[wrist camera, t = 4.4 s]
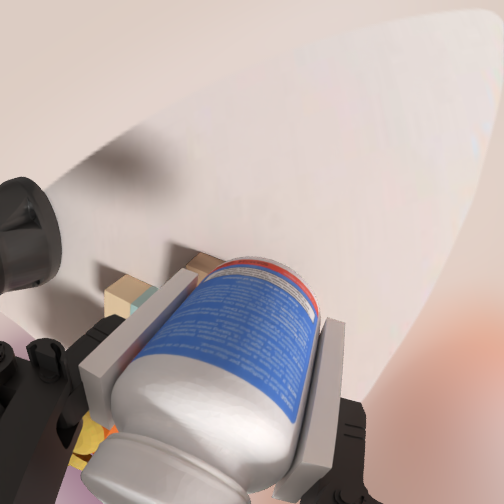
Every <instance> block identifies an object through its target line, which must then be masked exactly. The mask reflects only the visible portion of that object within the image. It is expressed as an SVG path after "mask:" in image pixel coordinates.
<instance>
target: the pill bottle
mask: <svg viewBox="0 0 504 504" xmlns="http://www.w3.org/2000/svg"><path fill="white" fill-rule="evenodd" d="M320 322H321V315H320V308H319V304H318V301H317V298H316V296H315V294H314V292H313V291H312V289H311V288H310V286H309V285H308V284H307V282H306V281H305V280H304V279H303V278H302V277H301V276H300V275H299V274H297V273H296V272H295V271H293V270H292V269H291V268H289V267H287V266H285V265H283V264H281V263H279V262H276V261H273V260H270V259H266V258H261V257H240V258H235V259H232V260H229V261H227V262H224V263H222V264H221V265H219V266H217V267H216V268H215V269H214V270H212V271H211V272H210V273H209V274H208V275H207V276H206V277H205V278H204V279H203V280H202V281H201V282H200V284H199V285H198V286H197V287H196V288H195V289H194V290H193V292H192V293H191V294H190V295H189V296H188V297H187V299H186V300H185V301H184V302H183V303H182V304H181V305H180V307H179V308H178V309H177V310H176V311H175V312H174V313H173V314H172V316H171V317H170V318H169V319H168V320H167V322H166V323H165V324H164V325H163V326H162V327H161V328H160V329H159V330H158V332H157V333H156V334H155V335H154V336H153V337H152V338H151V340H150V341H149V342H148V343H147V344H146V345H145V346H144V347H143V349H142V350H141V351H140V352H139V353H138V354H137V355H136V356H135V357H134V359H133V360H132V361H131V362H130V364H129V365H128V366H127V368H126V369H125V370H124V372H123V373H122V374H121V375H120V377H119V378H118V380H117V381H116V383H115V385H114V387H113V390H112V394H111V413H112V418H113V421H114V423H115V426H116V428H117V430H118V432H119V433H113V434H110V435H109V436H108V437H107V438H106V439H105V440H104V441H102V442H101V443H100V444H99V446H98V448H97V450H96V452H95V453H94V454H93V456H92V457H91V459H90V460H89V462H88V463H87V465H86V466H85V468H84V469H83V471H82V472H81V480H82V481H83V483H84V485H85V486H86V487H87V488H88V490H89V491H90V492H91V493H92V494H93V495H94V496H95V497H96V498H98V499H99V500H100V501H101V502H102V503H104V504H251V501H250V498H249V495H248V494H251V493H255V492H259V491H262V490H265V489H267V488H269V487H271V486H272V485H274V484H276V483H277V482H278V481H279V480H281V479H282V478H283V477H284V476H285V474H286V473H287V472H288V471H289V469H290V467H291V465H292V463H293V459H294V456H295V453H296V449H297V444H298V440H299V436H300V431H301V427H302V422H303V417H304V412H305V408H306V403H307V397H308V393H309V387H310V382H311V377H312V372H313V367H314V361H315V356H316V351H317V345H318V339H319V334H320Z"/></svg>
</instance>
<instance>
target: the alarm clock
mask: <svg viewBox="0 0 504 504" xmlns="http://www.w3.org/2000/svg"><path fill="white" fill-rule="evenodd" d="M82 419H83V427H82V430H81V432H80V435H79V438H78V440H77V443H76V445H75V448H74V450H73V453H72V456H71V458H70V461H69V464H68V466H69V465H71V466H73V467H75V468H77V469H79V470H82V471H83V469H84V468H85V466H86V465H87V463H88V462H89V460H90V459H91V457H92V455H91V454H90V453H93V454H94V453H95V452H96V450H97V448H98V446H99V444H100V443H101V442H102V441H104V440H105V439H106V438H107V437H108V436H109V435H110V434H113V433H119V432H118V430H117V428H116V426H115V425H114V426H113V427H112V428H111V430H108V429H106V428H105V427H103V426H101V425H100V424H98V423H96V422H95V421H93V420H92V419H91V417H90V413H89V410H88V412H87V413H86V414H85V415H84V416H83V417H82Z"/></svg>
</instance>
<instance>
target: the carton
mask: <svg viewBox="0 0 504 504" xmlns="http://www.w3.org/2000/svg"><path fill="white" fill-rule="evenodd" d="M157 290H158V288H156V287H154V286H151V285H149V284H147V283H144V282H142V281H140V280H138V279H136V278H134V277H132V276H130V275H127V274H126V275H124V276H123V277H122V278H120V279H119V280H118V281H116V282H115V283H113V284H112V285H111V286H109V287H108V288H107V289H105V292H104V318H105V317H108V316H110V315H113V314H116V315H119V316H121V317H123V318H125V319H127V318H128V317H129V316H130V315H131V314H133V313H134V312H135V311H136V310H137V309H138V308H139V307H140V306H141V305H142V304H143V303H144V302H145V301H147V300H148V299H149V298H150V297H151V296H152V295H153V294H154V293H155V292H156V291H157Z"/></svg>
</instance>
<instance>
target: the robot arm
mask: <svg viewBox="0 0 504 504" xmlns="http://www.w3.org/2000/svg"><path fill="white" fill-rule="evenodd" d="M61 255H62V248H61V237H60V232H59V227H58V223H57V220H56V217H55V214H54V211H53V209H52V207H51V205H50V202H49V201H48V199H47V197H46V195H45V194H44V192H43V191H42V190H41V188H40V187H39V186H38V185H37V184H36V183H35V182H33V181H32V180H30V179H29V178H26V177H18V178H14V179H11V180H8V181H5V182H4V183H2V184H1V185H0V295H1V294H3V293H5V292H10V291H16V290H22V289H27V288H32V287H38V286H41V285H43V284H44V283H46V282H47V281H49V280H51V279H52V278H54V276H55V275H56V274H57V272H58V270H59V267H60V263H61ZM198 275H199V274H198V273H195V272H192V271H189V270H187V269H184V268H182V269H180V270H179V271H178V272H177V273H176V274H175V275H174V276H173V277H172V278H171V279H169V280H168V281H167V282H166V283H165V284H164V285H163V286H162V287H161V288H160V289H158V290H157V291H156V292H155V293H154V294H153V295H152V296H151V297H150V298H149V299H148V300H147V301H145V302H144V303H143V304H142V305H141V306H140V307H139V308H138V309H137V310H136V311H135V312H134V313H133V314H131V315H130V316H129V317H128V318H127V319H125V318H123V317H121V316H119V315H116V314H113V315H110V316H108V317H105V318H103V319H101V320H100V321H99V322H98V323H97V324H96V325H94V326H93V328H91V329H90V330H89V331H88V332H86V334H85V335H83V336H82V337H81V338H80V339H78V340H77V341H76V342H75V343H74V344H73V345H72V346H71V347H69V348H68V349H67V350H66V351H65V348H64V347H63V346H62V344H61V343H60V342H58V341H56V340H54V339H49V338H42V339H37V340H35V341H32V342H31V343H30V344H29V345H27V346H26V349H27V352H28V356H29V359H30V361H28V360H25V359H22V358H19V357H16V356H15V354H14V351H13V348H12V347H11V346H10V345H9V344H7V343H6V342H4V341H0V504H55V501H56V498H57V495H58V492H59V489H60V486H61V483H62V481H63V478H64V475H65V472H66V469H67V466H68V464H69V461H70V458H71V456H72V453H73V450H74V448H75V445H76V443H77V440H78V438H79V435H80V432H81V430H82V427H83V419H82V417H83V416H84V415H85V414H86V413H87V412H88V410H89V413H90V417H91V419H92V420H93V421H95V422H96V423H98V424H100V425H101V426H103V427H105V428H106V429H108V430H111V428H112V427H113V426H114V425H115V423H114V421H113V418H112V413H111V394H112V390H113V387H114V385H115V383H116V381H117V380H118V378H119V377H120V375H121V374H122V373H123V372H124V370H125V369H126V368H127V366H128V365H129V364H130V362H131V361H132V360H133V359H134V357H135V356H136V355H137V354H138V353H139V352H140V351H141V350H142V349H143V347H144V346H145V345H146V344H147V343H148V342H149V341H150V340H151V338H152V337H153V336H154V335H155V334H156V333H157V332H158V330H159V329H160V328H161V327H162V326H163V325H164V324H165V323H166V322H167V320H168V319H169V318H170V317H171V316H172V314H173V313H174V312H175V311H176V310H177V309H178V308H179V307H180V305H181V304H182V303H183V302H184V301H185V300H186V299H187V297H188V296H189V295H190V294H191V293H192V292H193V290H194V289H195V288H196V287H197V282H198ZM344 337H345V323H344V322H340V321H337V320H334V319H331V318H328V317H327V319H326V321H325V324H324V326H323V328H322V331H321V333H320V335H319V339H318V345H317V351H316V356H315V361H314V367H313V372H312V377H311V382H310V387H309V393H308V397H307V403H306V408H305V412H304V417H303V422H302V427H301V431H300V436H299V440H298V444H297V449H296V453H295V456H294V459H293V463H292V465H291V467H290V469H289V471H288V472H287V473H286V474H285V476H284V477H283V478H282V479H281V480H279V481H278V482H277V483H276V485H275V488H274V492H273V495H272V498H275V499H278V500H282V501H287V502H290V503H297V502H298V501H299V500H300V499H301V501H300V504H383V503H380V502H378V501H377V500H375V499H373V498H372V497H371V496H370V495H369V494H368V490H367V489H366V487H365V486H364V483H363V471H364V455H365V436H366V435H365V434H366V431H365V429H366V414H365V412H364V409H363V407H362V404H361V403H360V402H356V401H352V400H348V399H344V398H340V395H341V383H342V370H343V355H344Z"/></svg>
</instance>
